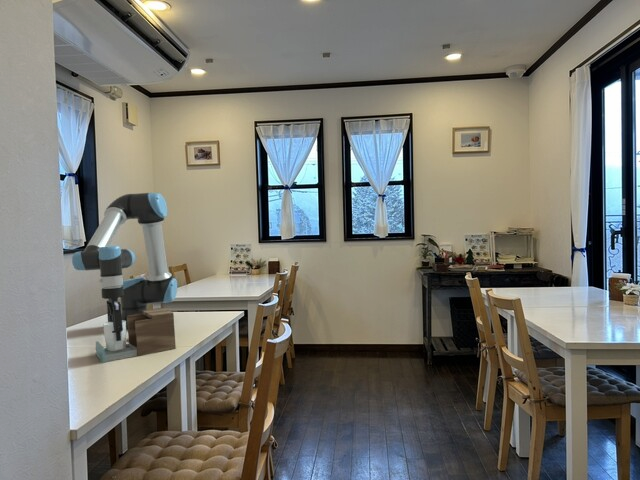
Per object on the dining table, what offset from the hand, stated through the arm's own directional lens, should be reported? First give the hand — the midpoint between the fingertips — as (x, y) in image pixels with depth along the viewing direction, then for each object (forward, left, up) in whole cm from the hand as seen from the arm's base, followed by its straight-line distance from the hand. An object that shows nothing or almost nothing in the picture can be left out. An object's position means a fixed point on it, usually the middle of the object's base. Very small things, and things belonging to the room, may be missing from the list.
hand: (116, 346), depth 172 cm
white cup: (0, 0, -1) cm, 1 cm away
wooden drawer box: (0, +13, -3) cm, 13 cm away
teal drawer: (0, +1, -3) cm, 3 cm away
